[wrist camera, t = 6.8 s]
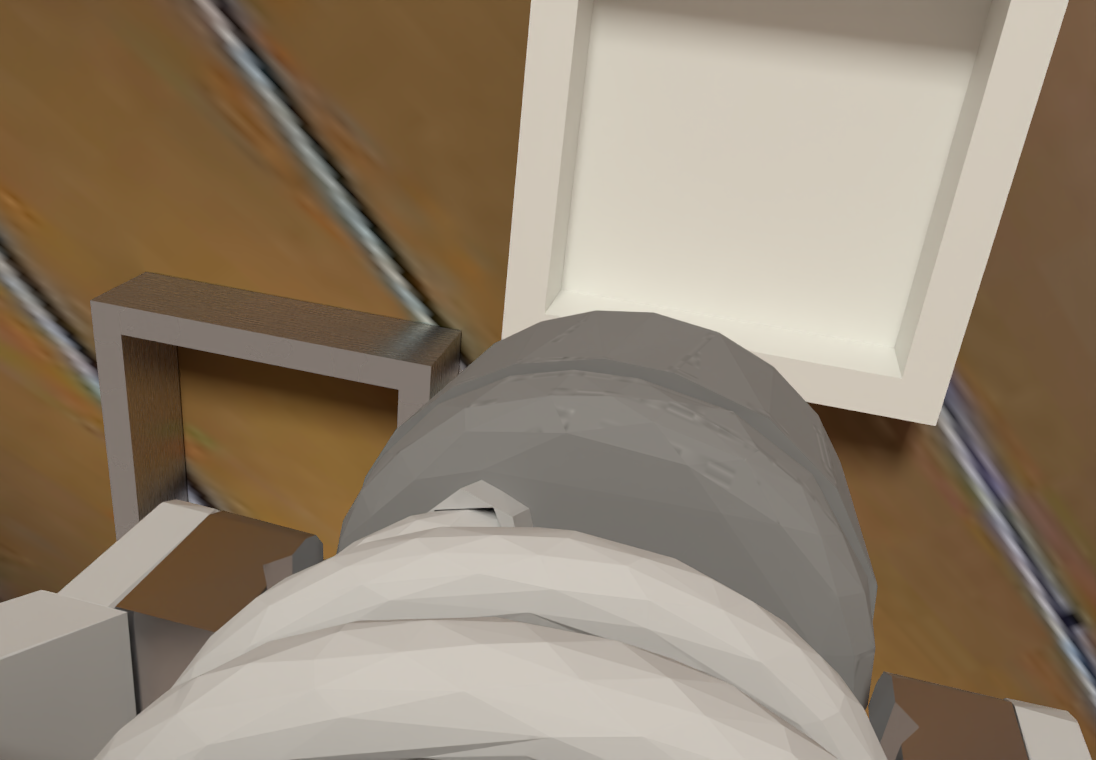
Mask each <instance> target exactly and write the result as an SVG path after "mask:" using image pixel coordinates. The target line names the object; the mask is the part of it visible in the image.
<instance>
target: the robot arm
mask: <svg viewBox="0 0 1096 760" xmlns="http://www.w3.org/2000/svg"><path fill="white" fill-rule="evenodd" d="M322 561H323V543H322V542H321V541H320V540H319V538H318V537H317V536H316V535H314V534H310V533H306V532H302V531H299V530H295V529H291V528H287V527H283V526H280V525H276V524H272V523H268V522H264V521H261V520H257V519H253V518H249V517H245V516H242V515H238V514H234V513H230V512H226V511H219V510H216V509H213V508H209V507H205V506H201V505H197V504H193V503H189V502H185V501H181V500H177V499H175V500H170V501H165V502H162V503H161V504H159V505H158V506H157V507H156V508H155V509H153V510H152V511H151V512H150V513H149V514H148V515H147V516H145V517H144V518H143V519H142V520H141V521H140V522H139V523H137V524H136V525H135V526H134V527H133V528H132V529H130V530H129V531H128V532H127V533H126V534H125V535H124V536H122V537H121V538H120V539H119V540H118V541H117V542H116V543H114V544H113V545H112V546H111V547H110V548H109V549H108V550H106V551H105V552H104V553H103V554H102V555H101V556H100V557H98V558H97V559H96V560H95V561H94V562H93V563H91V564H90V565H89V566H88V567H87V568H86V569H85V570H83V571H82V572H81V573H80V574H79V575H78V576H77V577H75V578H74V579H73V580H72V581H71V582H70V583H69V584H67V585H66V586H65V587H64V588H63V589H62V590H61V591H59V592H58V593H57V594H56V593H52V592H48V591H44V590H40V591H37V592H34V593H30V594H27V595H24V596H21V597H18V598H15V599H12V600H9V601H5V602H2V603H0V760H94V758H95V757H96V756H97V755H98V754H99V753H100V751H101V750H102V749H103V748H104V747H105V746H106V745H107V743H108V742H109V741H110V740H111V739H112V738H113V736H114V735H115V734H116V733H117V732H118V731H119V730H120V729H121V728H122V727H124V726H125V725H126V724H127V723H129V722H130V721H131V720H132V719H133V718H135V717H136V716H137V715H138V714H140V713H141V712H142V711H143V710H144V709H146V708H147V707H148V706H149V705H151V704H152V703H153V702H154V701H155V700H157V699H158V698H159V697H160V696H162V695H163V694H164V693H165V692H166V691H168V690H170V689H171V688H172V686H173V685H174V684H175V682H176V681H177V680H178V678H179V677H180V676H181V674H182V673H183V672H184V670H185V669H186V668H187V667H188V665H189V664H190V663H191V661H192V660H193V659H194V657H195V656H196V655H197V653H198V652H199V651H200V649H201V648H202V647H203V646H204V644H205V643H206V642H207V640H208V639H209V638H210V636H212V635H213V634H214V633H215V632H216V631H217V630H219V629H220V628H221V627H222V626H223V625H225V624H226V623H227V622H228V621H229V620H230V619H232V618H233V617H234V616H235V615H236V614H237V613H239V612H240V611H241V610H242V609H243V608H245V607H246V606H247V605H248V604H249V603H250V602H252V601H253V600H254V599H255V598H256V597H258V596H259V595H261V594H262V593H264V592H265V591H267V590H268V589H270V588H271V587H273V586H274V585H276V584H277V583H279V582H280V581H282V580H283V579H285V578H286V577H288V576H291V575H293V574H295V573H297V572H300V571H302V570H304V569H306V568H309V567H311V566H313V565H315V564H318V563H320V562H322ZM868 708H869V719H870V723H871V725H872V728H873V730H874V732H875V734H876V736H877V738H878V740H879V743H880V745H881V747H882V749H883V751H884V753H885V756H886V758H887V760H1092V759H1091V756H1090V753H1089V751H1088V748H1087V745H1086V743H1085V740H1084V738H1083V735H1082V732H1081V730H1080V727H1079V724H1078V722H1077V720H1076V719H1075V718H1074V717H1073V716H1072V715H1071V714H1070V713H1069V712H1068V711H1064V710H1060V709H1055V708H1050V707H1045V706H1041V705H1036V704H1031V703H1027V702H1022V701H1017V700H1013V699H1008V698H1005V699H1003V700H1002V699H999V698H995V697H991V696H986V695H982V694H978V693H974V692H969V691H965V690H961V689H956V688H952V687H948V686H944V685H939V684H935V683H931V682H927V681H922V680H918V679H914V678H910V677H905V676H901V675H897V674H892V673H888V672H883V674H882V675H881V677H880V679H879V680H878V682H877V684H876V686H875V689H874V692H873V694H872V697H871V700H870V703H869V706H868Z"/></svg>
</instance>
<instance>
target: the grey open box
mask: <svg viewBox="0 0 1096 760" xmlns="http://www.w3.org/2000/svg"><path fill="white" fill-rule="evenodd" d="M90 304H91V313H92V322H93V331H94V340H95V349H96V358H97V367H98V376H99V385H100V394H101V403H102V412H103V421H104V430H105V439H106V448H107V457H108V466H109V475H110V484H111V493H112V502H113V511H114V520H115V529H116V539H117V541H118V540H119V539H120V538H121V537H122V536H124V535H125V534H126V533H127V532H128V531H129V530H130V529H132V528H133V527H134V526H135V525H136V524H137V523H139V522H140V521H141V520H142V519H143V518H144V517H145V516H147V515H148V514H149V513H150V512H151V511H152V510H153V509H155V508H156V507H157V506H158V505H159V504H161V503H162V502H165V501H170V500H175V499H177V500H181V501H185V502H188V498H187V484H186V470H185V456H184V442H183V428H182V414H181V399H180V385H179V371H178V357H177V346H181V347H186V348H191V349H196V350H201V351H206V352H211V353H216V354H221V355H226V356H231V357H236V358H241V359H247V360H252V361H257V362H262V363H267V364H272V365H277V366H282V367H287V368H292V369H297V370H302V371H307V372H312V373H317V374H322V375H327V376H332V377H337V378H342V379H347V380H352V381H357V382H362V383H367V384H372V385H377V386H382V387H387V388H392V389H397V390H399V393H398V419H397V428H398V427H399V426H400V425H402V424H403V423H404V422H405V421H406V420H407V419H408V418H410V417H411V416H412V415H413V414H414V413H415V412H416V411H418V410H419V409H420V408H421V407H422V406H423V405H424V404H426V403H427V402H428V401H429V400H430V399H431V398H432V397H434V396H435V395H436V394H437V393H438V392H439V391H441V390H442V389H443V388H444V387H445V386H446V385H447V384H449V383H450V382H451V381H452V380H453V379H454V378H455V377H457V376H458V374H459V359H460V344H461V331H459V330H454V329H448V328H443V327H438V326H432V325H427V324H422V323H416V322H411V321H406V320H400V319H395V318H390V317H384V316H379V315H374V314H368V313H363V312H357V311H352V310H347V309H341V308H336V307H331V306H325V305H320V304H315V303H309V302H304V301H299V300H293V299H288V298H282V297H277V296H272V295H266V294H261V293H256V292H250V291H245V290H240V289H234V288H229V287H224V286H218V285H213V284H207V283H202V282H197V281H191V280H186V279H181V278H175V277H170V276H165V275H159V274H154V273H149V272H145V273H143V274H141V275H139V276H137V277H135V278H133V279H131V280H129V281H127V282H125V283H123V284H121V285H119V286H117V287H115V288H113V289H111V290H109V291H107V292H105V293H103V294H102V295H100V296H98V297H96V298H94V299H92V300H90ZM323 561H325V560H323Z"/></svg>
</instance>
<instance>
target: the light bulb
mask: <svg viewBox="0 0 1096 760" xmlns="http://www.w3.org/2000/svg"><path fill="white" fill-rule="evenodd" d="M876 593H877V582H876V579H875V576H874V572H873V569H872V566H871V562H870V559H869V556H868V552H867V549H866V546H865V542H864V539H863V536H862V532H861V529H860V526H859V522H858V519H857V516H856V512H855V509H854V506H853V502H852V499H851V496H850V492H849V489H848V486H847V483H846V479H845V476H844V473H843V469H842V466H841V463H840V460H839V458H838V456H837V454H836V452H835V450H834V448H833V445H832V443H831V441H830V439H829V437H828V435H827V433H826V431H825V428H824V426H823V424H822V422H821V420H820V418H819V416H818V414H817V413H816V412H815V411H814V410H813V409H812V408H811V407H810V406H809V404H808V403H807V402H806V401H805V400H804V399H803V398H802V397H801V396H800V395H799V394H798V393H797V391H796V390H795V389H794V388H793V387H792V386H791V385H790V384H789V383H788V382H787V381H786V380H785V378H784V377H783V376H782V375H781V374H780V373H779V372H778V371H777V370H776V369H775V368H774V367H773V366H772V365H770V364H769V363H767V362H766V361H764V360H762V359H761V358H759V357H758V356H756V355H754V354H753V353H751V352H750V351H748V350H746V349H745V348H743V347H742V346H740V345H738V344H737V343H735V342H734V341H732V340H730V339H729V338H727V337H726V336H724V335H722V334H721V333H719V332H716V331H713V330H710V329H706V328H703V327H700V326H696V325H693V324H690V323H687V322H683V321H680V320H677V319H673V318H670V317H667V316H664V315H660V314H657V313H654V312H627V311H600V310H596V311H591V312H586V313H581V314H576V315H571V316H566V317H561V318H556V319H551V320H545V321H541V322H539V323H537V324H535V325H532V326H530V327H528V328H526V329H524V330H522V331H520V332H518V333H515V334H513V335H511V336H509V337H507V338H505V339H503V340H501V341H498V342H496V343H494V344H493V345H492V346H491V347H490V348H489V349H487V350H486V351H485V352H484V353H483V354H482V355H481V356H479V357H478V358H477V359H476V360H475V361H474V362H473V363H471V364H470V365H469V366H468V367H467V368H466V369H465V370H463V371H462V372H461V373H460V374H459V375H458V376H457V377H455V378H454V379H453V380H452V381H451V382H450V383H449V384H447V385H446V386H445V387H444V388H443V389H442V390H441V391H439V392H438V393H437V394H436V395H435V396H434V397H432V398H431V399H430V400H429V401H428V402H427V403H426V404H424V405H423V406H422V407H421V408H420V409H419V410H418V411H416V412H415V413H414V414H413V415H412V416H411V417H410V418H408V419H407V420H406V421H405V422H404V423H403V424H402V425H400V426H399V427H398V428H397V429H396V430H395V432H394V433H393V435H392V436H391V438H390V439H389V441H388V443H387V444H386V446H385V447H384V449H383V450H382V452H381V454H380V455H379V457H378V458H377V460H376V461H375V463H374V464H373V466H372V468H371V469H370V471H369V472H368V474H367V475H366V477H365V480H364V484H363V487H362V489H361V491H360V493H359V495H358V496H357V498H356V500H355V501H354V503H353V505H352V507H351V508H350V510H349V512H348V513H347V515H346V517H345V518H344V520H343V524H342V529H341V534H340V539H339V544H338V550H337V555H335V556H334V557H331V558H329V559H327V560H325V561H322V562H320V563H318V564H315V565H313V566H311V567H309V568H306V569H304V570H302V571H300V572H297V573H295V574H293V575H291V576H288V577H286V578H285V579H283V580H282V581H280V582H279V583H277V584H276V585H274V586H273V587H271V588H270V589H268V590H267V591H265V592H264V593H262V594H261V595H259V596H258V597H256V598H255V599H254V600H253V601H252V602H250V603H249V604H248V605H247V606H246V607H245V608H243V609H242V610H241V611H240V612H239V613H237V614H236V615H235V616H234V617H233V618H232V619H230V620H229V621H228V622H227V623H226V624H225V625H223V626H222V627H221V628H220V629H219V630H217V631H216V632H215V633H214V634H213V635H212V636H210V638H209V639H208V640H207V642H206V643H205V644H204V646H203V647H202V648H201V649H200V651H199V652H198V653H197V655H196V656H195V657H194V659H193V660H192V661H191V663H190V664H189V665H188V667H187V668H186V669H185V670H184V672H183V673H182V674H181V676H180V677H179V678H178V680H177V681H176V682H175V684H174V685H173V686H172V688H171V689H170V690H168V691H166V692H165V693H164V694H163V695H162V696H160V697H159V698H158V699H157V700H155V701H154V702H153V703H152V704H151V705H149V706H148V707H147V708H146V709H144V710H143V711H142V712H141V713H140V714H138V715H137V716H136V717H135V718H133V719H132V720H131V721H130V722H129V723H127V724H126V725H125V726H124V727H122V728H121V729H120V730H119V731H118V732H117V733H116V734H115V735H114V736H113V738H112V739H111V740H110V741H109V742H108V743H107V745H106V746H105V747H104V748H103V749H102V750H101V751H100V753H99V754H98V755H97V756H96V757H95V758H94V760H887V758H886V756H885V753H884V751H883V749H882V747H881V745H880V743H879V740H878V738H877V736H876V734H875V732H874V730H873V728H872V725H871V723H870V721H869V719H868V717H867V715H866V712H865V709H866V707H867V705H868V698H869V691H870V683H871V676H872V668H873V661H874V653H875V641H874V631H873V615H874V608H875V601H876Z"/></svg>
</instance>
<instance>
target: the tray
mask: <svg viewBox="0 0 1096 760" xmlns="http://www.w3.org/2000/svg"><path fill="white" fill-rule="evenodd" d="M1068 1H1069V0H531V10H530V21H529V33H528V44H527V55H526V67H525V78H524V90H523V101H522V112H521V124H520V135H519V146H518V158H517V169H516V181H515V192H514V203H513V215H512V226H511V238H510V249H509V260H508V272H507V283H506V295H505V306H504V317H503V329H502V340H503V339H505V338H507V337H509V336H511V335H513V334H515V333H518V332H520V331H522V330H524V329H526V328H528V327H530V326H532V325H535V324H537V323H539V322H541V321H545V320H551V319H556V318H561V317H566V316H571V315H576V314H581V313H586V312H591V311H596V310H600V311H627V312H654V313H657V314H660V315H664V316H667V317H670V318H673V319H677V320H680V321H683V322H687V323H690V324H693V325H696V326H700V327H703V328H706V329H710V330H713V331H716V332H719V333H721V334H722V335H724V336H726V337H727V338H729V339H730V340H732V341H734V342H735V343H737V344H738V345H740V346H742V347H743V348H745V349H746V350H748V351H750V352H751V353H753V354H754V355H756V356H758V357H759V358H761V359H762V360H764V361H766V362H767V363H769V364H770V365H772V366H773V367H774V368H775V369H776V370H777V371H778V372H779V373H780V374H781V375H782V376H783V377H784V378H785V380H786V381H787V382H788V383H789V384H790V385H791V386H792V387H793V388H794V389H795V390H796V391H797V393H798V394H799V395H800V396H801V397H802V398H803V399H804V400H805V401H806V402H810V403H816V404H821V405H826V406H832V407H837V408H842V409H848V410H853V411H858V412H864V413H869V414H874V415H880V416H885V417H890V418H896V419H901V420H906V421H912V422H917V423H922V424H928V425H933V426H936V423H937V420H938V417H939V414H940V411H941V407H942V404H943V401H944V398H945V395H946V391H947V388H948V385H949V382H950V379H951V375H952V372H953V369H954V366H955V363H956V359H957V356H958V353H959V350H960V347H961V343H962V340H963V337H964V334H965V331H966V327H967V324H968V321H969V318H970V315H971V311H972V308H973V305H974V302H975V299H976V295H977V292H978V289H979V286H980V283H981V279H982V276H983V273H984V270H985V267H986V263H987V260H988V257H989V254H990V251H991V247H992V244H993V241H994V238H995V235H996V231H997V228H998V225H999V222H1000V219H1001V215H1002V212H1003V209H1004V206H1005V203H1006V199H1007V196H1008V193H1009V190H1010V187H1011V183H1012V180H1013V177H1014V174H1015V171H1016V167H1017V164H1018V161H1019V158H1020V155H1021V151H1022V148H1023V145H1024V142H1025V139H1026V135H1027V132H1028V129H1029V126H1030V123H1031V119H1032V116H1033V113H1034V110H1035V107H1036V103H1037V100H1038V97H1039V94H1040V91H1041V87H1042V84H1043V81H1044V78H1045V75H1046V71H1047V68H1048V65H1049V62H1050V59H1051V55H1052V52H1053V49H1054V46H1055V43H1056V39H1057V36H1058V33H1059V30H1060V27H1061V23H1062V20H1063V17H1064V14H1065V11H1066V7H1067V4H1068Z"/></svg>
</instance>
